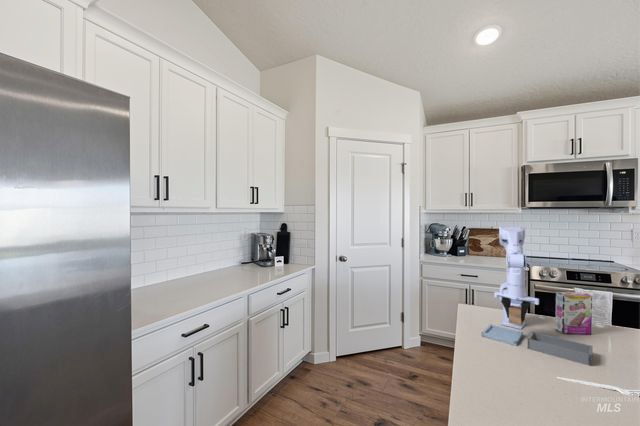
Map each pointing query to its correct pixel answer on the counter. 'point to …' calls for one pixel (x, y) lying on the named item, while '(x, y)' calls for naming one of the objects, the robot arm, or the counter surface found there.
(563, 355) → the gray rectangular bin
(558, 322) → the candy bar box
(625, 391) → the fork
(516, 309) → the walnut block
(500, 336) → the light blue tray
